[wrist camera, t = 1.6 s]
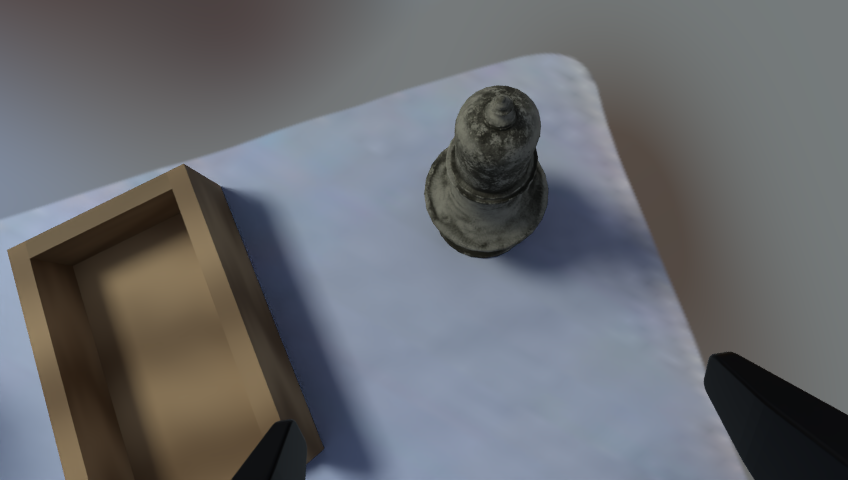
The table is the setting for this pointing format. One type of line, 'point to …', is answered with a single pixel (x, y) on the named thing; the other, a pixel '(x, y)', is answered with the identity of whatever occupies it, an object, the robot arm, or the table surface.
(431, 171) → the grey tiered stone figure
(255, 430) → the open-ended wooden tray
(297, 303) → the table surface
